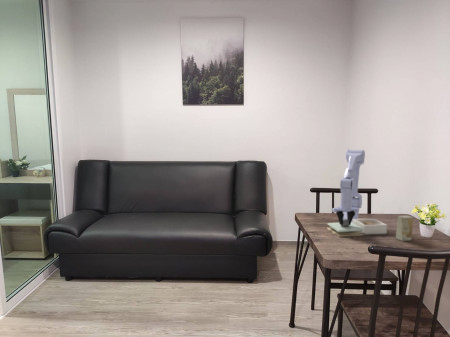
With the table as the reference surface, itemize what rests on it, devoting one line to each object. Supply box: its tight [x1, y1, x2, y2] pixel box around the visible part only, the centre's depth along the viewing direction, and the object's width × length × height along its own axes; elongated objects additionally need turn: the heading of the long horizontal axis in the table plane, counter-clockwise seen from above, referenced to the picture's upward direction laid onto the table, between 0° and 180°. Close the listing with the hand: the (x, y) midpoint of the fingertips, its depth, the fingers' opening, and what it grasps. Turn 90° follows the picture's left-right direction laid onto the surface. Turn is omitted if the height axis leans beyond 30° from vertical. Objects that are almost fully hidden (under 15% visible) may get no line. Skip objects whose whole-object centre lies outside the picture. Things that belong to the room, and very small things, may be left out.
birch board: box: [326, 226, 364, 238], centre depth 191 cm, size 15×14×1 cm
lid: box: [327, 219, 363, 232], centre depth 191 cm, size 14×14×5 cm
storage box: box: [353, 218, 388, 236], centre depth 194 cm, size 13×13×5 cm
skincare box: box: [395, 214, 414, 242], centre depth 179 cm, size 6×4×12 cm
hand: (344, 224), depth 191 cm, fingers closed on lid, 4 cm apart
